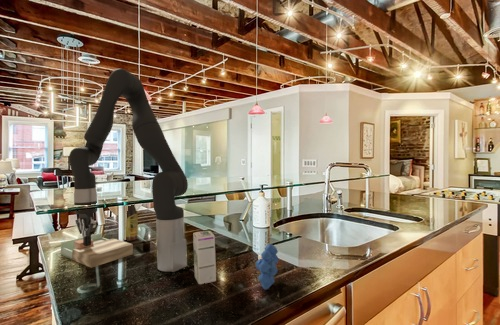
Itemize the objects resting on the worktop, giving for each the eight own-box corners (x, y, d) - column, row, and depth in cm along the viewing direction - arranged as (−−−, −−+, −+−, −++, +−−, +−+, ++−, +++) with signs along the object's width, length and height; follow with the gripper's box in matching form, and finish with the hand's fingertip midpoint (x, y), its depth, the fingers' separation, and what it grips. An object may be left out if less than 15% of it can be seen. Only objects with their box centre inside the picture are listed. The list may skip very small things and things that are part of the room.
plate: (133, 254, 112) (132, 244, 112) (91, 267, 99) (90, 256, 99) (113, 247, 120) (113, 238, 120) (72, 259, 107) (72, 249, 107)
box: (113, 247, 120) (113, 236, 120) (72, 259, 107) (71, 246, 107) (101, 243, 125) (101, 232, 125) (61, 254, 112) (60, 242, 112)
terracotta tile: (93, 245, 111) (93, 240, 111) (79, 248, 107) (79, 243, 107) (87, 243, 114) (87, 238, 114) (73, 246, 110) (73, 241, 110)
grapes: (262, 275, 90) (261, 238, 90) (282, 278, 87) (282, 240, 87) (247, 292, 79) (247, 249, 79) (270, 296, 77) (269, 252, 76)
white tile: (100, 239, 123) (100, 244, 123) (88, 242, 119) (88, 247, 119) (106, 241, 120) (106, 246, 120) (94, 244, 116) (94, 249, 116)
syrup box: (216, 281, 87) (215, 234, 86) (197, 285, 84) (196, 236, 84) (211, 274, 92) (210, 229, 91) (193, 277, 89) (192, 232, 89)
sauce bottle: (132, 241, 128) (131, 198, 127) (120, 241, 129) (118, 197, 128) (140, 237, 134) (139, 195, 134) (129, 237, 135) (127, 195, 135)
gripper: (104, 200, 107) (106, 245, 107) (87, 197, 114) (88, 240, 115) (83, 203, 100) (85, 251, 101) (66, 200, 108) (68, 245, 108)
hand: (87, 245), depth 108 cm, fingers closed
